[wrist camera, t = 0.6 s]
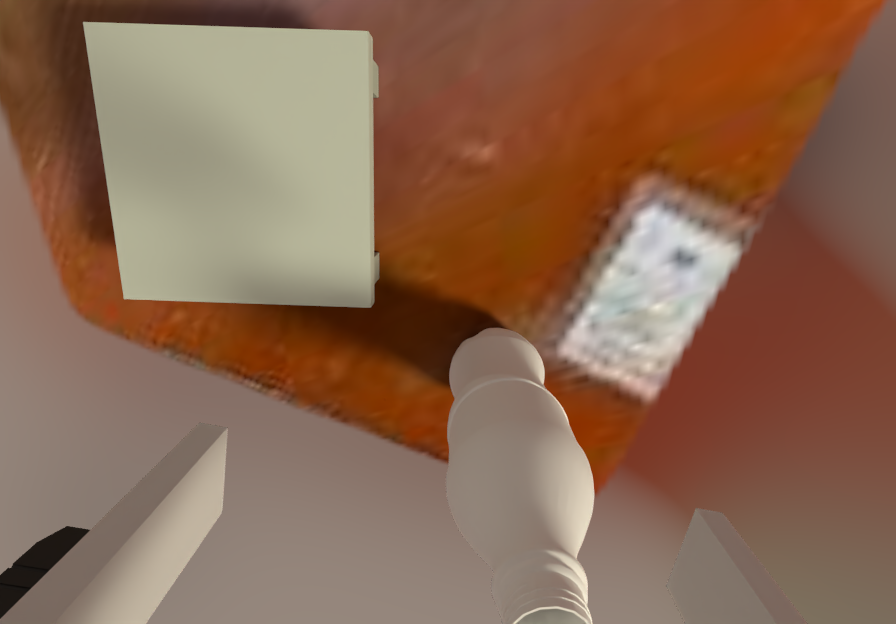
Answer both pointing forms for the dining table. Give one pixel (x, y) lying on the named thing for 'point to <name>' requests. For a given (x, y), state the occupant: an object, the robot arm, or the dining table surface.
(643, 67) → the dining table surface
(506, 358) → the water bottle
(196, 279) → the small white table
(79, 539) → the robot arm
